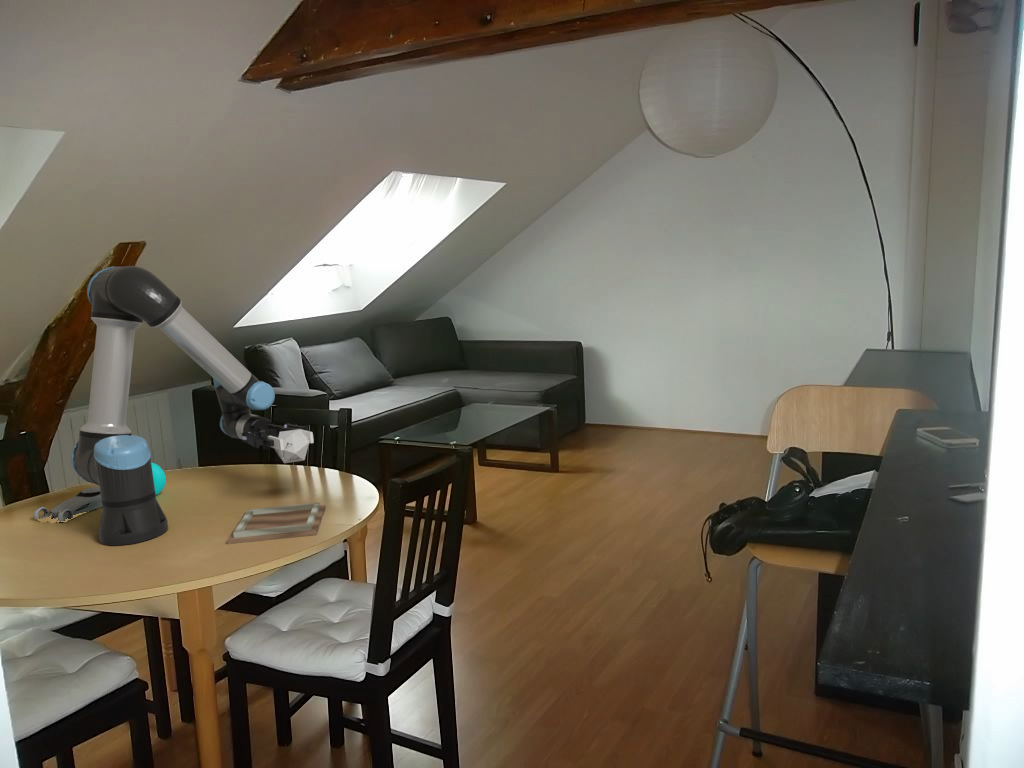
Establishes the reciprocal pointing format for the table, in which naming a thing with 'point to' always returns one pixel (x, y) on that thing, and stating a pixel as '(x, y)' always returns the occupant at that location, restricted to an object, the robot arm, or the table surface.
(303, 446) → the die
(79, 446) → the robot arm
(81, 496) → the car model
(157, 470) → the turquoise ball
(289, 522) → the dice tray
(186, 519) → the table surface
